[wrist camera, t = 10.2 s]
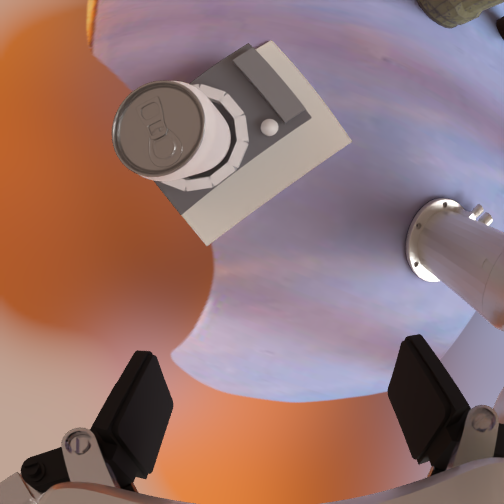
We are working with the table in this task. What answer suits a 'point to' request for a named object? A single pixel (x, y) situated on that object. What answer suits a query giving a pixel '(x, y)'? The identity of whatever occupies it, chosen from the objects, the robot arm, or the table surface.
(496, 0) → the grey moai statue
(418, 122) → the table surface
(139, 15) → the table surface
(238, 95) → the camera body
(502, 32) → the coffee mug
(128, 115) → the can
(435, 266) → the robot arm
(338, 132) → the mat
